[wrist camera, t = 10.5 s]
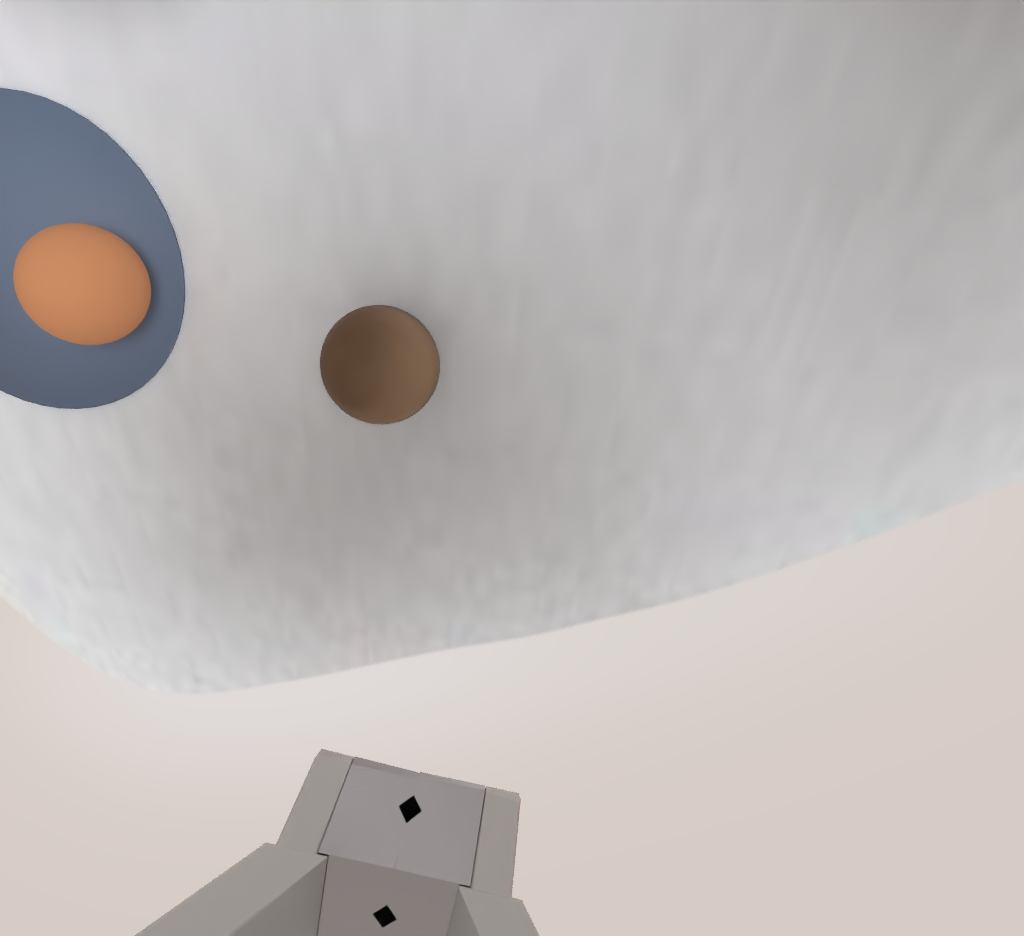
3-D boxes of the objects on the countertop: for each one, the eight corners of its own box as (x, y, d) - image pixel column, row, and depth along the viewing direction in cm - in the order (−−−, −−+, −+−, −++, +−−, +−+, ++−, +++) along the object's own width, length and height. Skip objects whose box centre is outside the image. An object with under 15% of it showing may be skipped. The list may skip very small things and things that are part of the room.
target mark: (187, 127, 30) (185, 127, 30) (182, 434, 35) (180, 436, 35) (-140, 55, 30) (-145, 54, 30) (-94, 373, 36) (-97, 374, 35)
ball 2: (297, 304, 28) (360, 287, 32) (294, 423, 30) (354, 392, 34) (414, 331, 27) (463, 309, 31) (403, 453, 29) (450, 416, 33)
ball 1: (-23, 212, 27) (69, 206, 32) (-15, 338, 29) (71, 316, 34) (102, 245, 27) (177, 235, 32) (101, 371, 29) (172, 344, 34)
